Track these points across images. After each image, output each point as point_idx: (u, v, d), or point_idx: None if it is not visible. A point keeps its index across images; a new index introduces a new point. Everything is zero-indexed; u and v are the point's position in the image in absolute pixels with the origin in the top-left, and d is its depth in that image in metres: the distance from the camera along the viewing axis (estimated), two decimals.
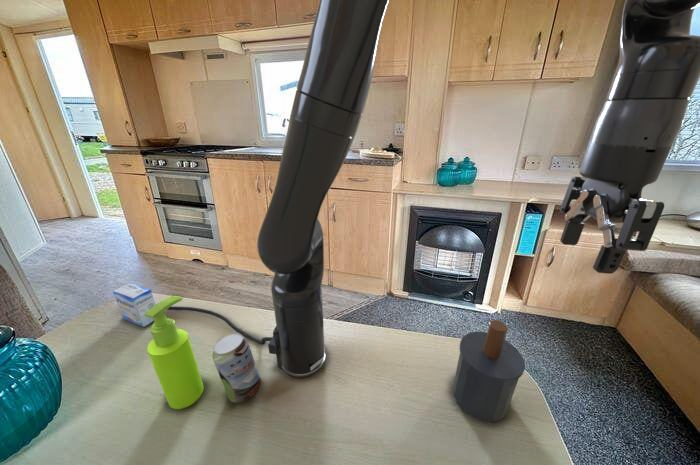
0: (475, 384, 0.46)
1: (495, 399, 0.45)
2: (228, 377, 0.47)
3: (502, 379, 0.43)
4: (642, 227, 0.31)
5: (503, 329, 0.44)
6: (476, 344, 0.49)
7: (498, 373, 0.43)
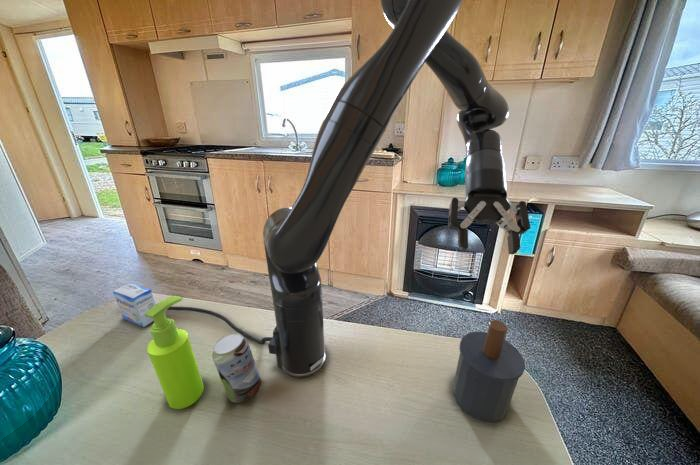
0: (475, 384, 0.46)
1: (495, 399, 0.45)
2: (228, 377, 0.47)
3: (502, 379, 0.43)
4: None
5: (503, 329, 0.44)
6: (476, 344, 0.49)
7: (498, 373, 0.43)
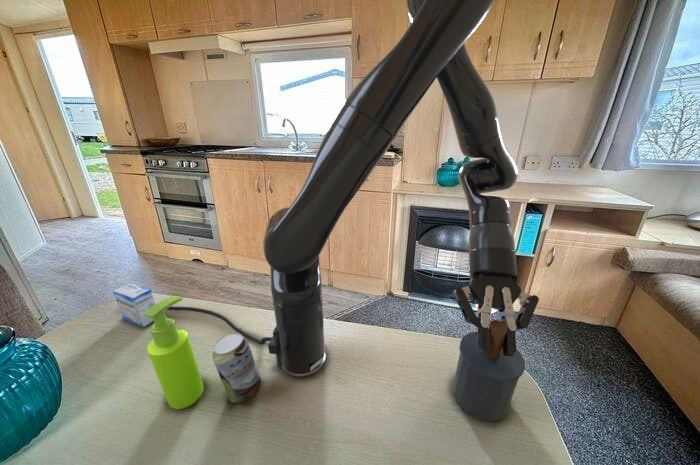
0: (475, 384, 0.46)
1: (495, 399, 0.45)
2: (228, 377, 0.47)
3: (502, 379, 0.43)
4: None
5: (503, 329, 0.44)
6: (476, 344, 0.49)
7: (498, 373, 0.43)
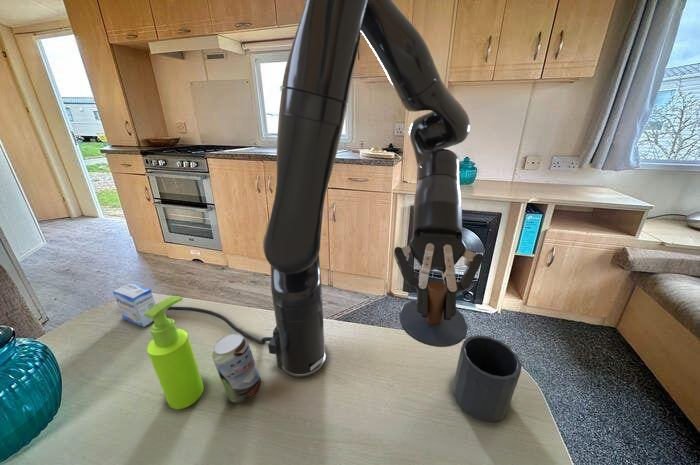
0: (475, 384, 0.46)
1: (495, 399, 0.45)
2: (228, 377, 0.47)
3: (438, 344, 0.38)
4: None
5: (441, 289, 0.39)
6: None
7: (435, 338, 0.39)
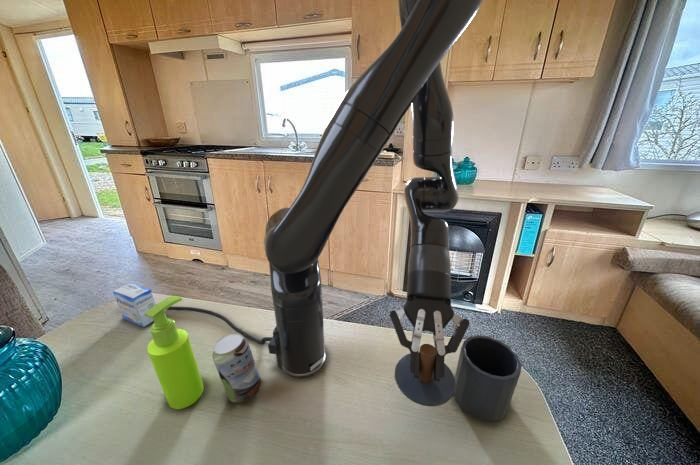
0: (475, 384, 0.46)
1: (495, 399, 0.45)
2: (228, 377, 0.47)
3: (428, 404, 0.43)
4: None
5: (431, 354, 0.44)
6: None
7: (425, 398, 0.43)
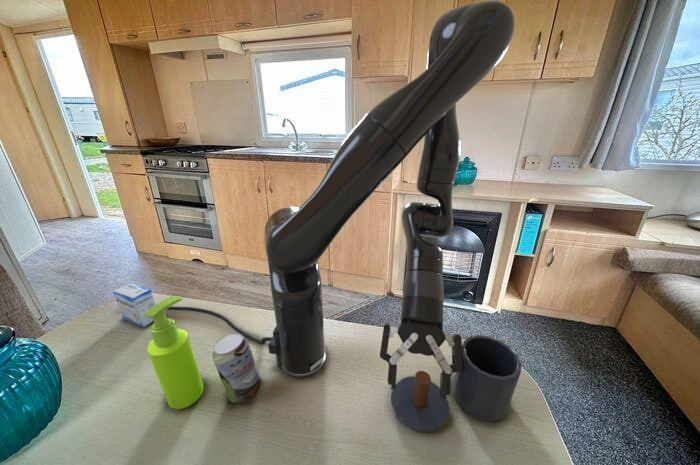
0: (475, 384, 0.46)
1: (495, 399, 0.45)
2: (228, 377, 0.47)
3: (422, 430, 0.45)
4: None
5: (426, 381, 0.46)
6: (407, 390, 0.51)
7: (420, 423, 0.46)
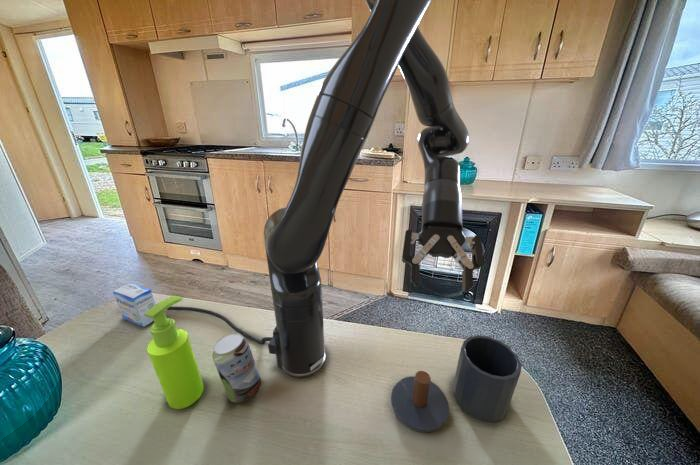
0: (475, 384, 0.46)
1: (495, 399, 0.45)
2: (228, 377, 0.47)
3: (422, 430, 0.45)
4: None
5: (426, 381, 0.46)
6: (407, 390, 0.51)
7: (420, 423, 0.46)
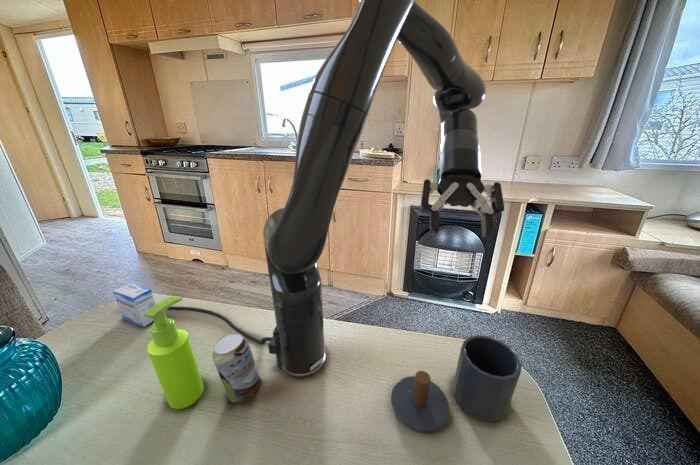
0: (475, 384, 0.46)
1: (495, 399, 0.45)
2: (228, 377, 0.47)
3: (422, 430, 0.45)
4: None
5: (426, 381, 0.46)
6: (407, 390, 0.51)
7: (420, 423, 0.46)
